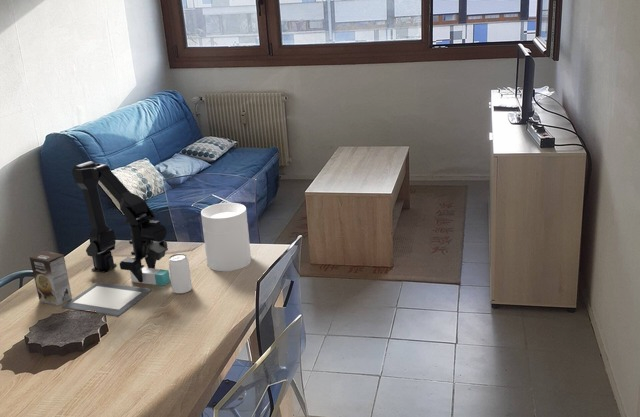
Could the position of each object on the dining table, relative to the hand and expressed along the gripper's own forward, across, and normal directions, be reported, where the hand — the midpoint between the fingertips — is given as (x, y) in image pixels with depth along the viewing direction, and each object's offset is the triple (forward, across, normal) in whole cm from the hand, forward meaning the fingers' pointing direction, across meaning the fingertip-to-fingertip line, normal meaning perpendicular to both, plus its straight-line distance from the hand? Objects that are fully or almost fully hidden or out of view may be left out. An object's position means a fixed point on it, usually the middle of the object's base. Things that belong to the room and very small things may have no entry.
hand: (146, 277), depth 221 cm
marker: (+1, 0, -2) cm, 2 cm away
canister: (+1, +21, -21) cm, 30 cm away
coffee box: (+1, -20, +22) cm, 30 cm away
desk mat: (+1, -15, +5) cm, 16 cm away
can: (+1, -3, -16) cm, 16 cm away
